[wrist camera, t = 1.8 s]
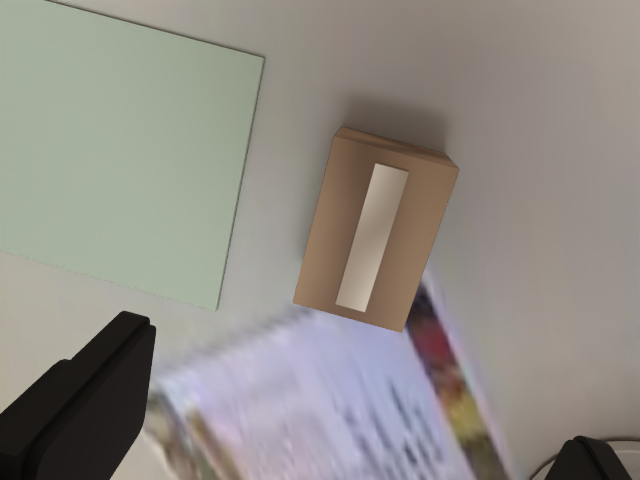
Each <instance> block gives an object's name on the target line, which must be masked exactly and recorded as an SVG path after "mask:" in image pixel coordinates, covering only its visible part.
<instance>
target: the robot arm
mask: <svg viewBox="0 0 640 480" xmlns="http://www.w3.org/2000/svg"><path fill="white" fill-rule="evenodd" d="M155 336H156V327H155V326H153V325H150V320H149V318H148V317H146V316H142V315H138V314H135V313H131V312H127V311H122V312H120V313H119V314H118V315H117V316H116V317H115V318H114V319H113V320H112V321H111V322H110V323H109V324H108V325H107V326H106V327H104V328H103V329H102V330H101V331H100V332H99V333H98V334H97V335H96V336H95V337H94V338H93V339H92V340H91V341H90V342H89V343H88V344H87V345H86V346H85V347H84V348H82V349H81V350H80V351H79V352H78V353H77V354H76V355H75V356H74V357H73V358H72V359H71V360H67V359H63V360H60V361H58V362H57V363H56V364H54V365H53V366H52V367H51V368H50V369H49V370H48V371H47V372H45V373H44V374H43V375H42V376H41V377H40V378H39V379H38V380H37V381H36V382H35V383H34V384H32V385H31V386H30V387H29V388H28V389H27V390H26V391H25V392H24V393H23V394H22V395H20V396H19V397H18V398H17V399H16V400H15V401H14V402H13V403H12V404H11V405H10V406H8V407H7V408H6V409H5V410H4V411H3V412H2V413H1V414H0V480H110V478H111V477H112V475H113V474H114V472H115V470H116V469H117V467H118V466H119V464H120V463H121V461H122V460H123V458H124V457H125V455H126V453H127V452H128V450H129V449H130V447H131V446H132V444H133V443H134V441H135V440H136V438H137V436H138V435H139V433H140V431H141V428H142V426H143V422H144V418H145V411H146V403H147V396H148V389H149V381H150V374H151V366H152V359H153V351H154V344H155ZM532 480H640V442H635V441H610V442H603V441H599V440H595V439H592V438H588V437H584V436H577V437H575V438H574V439H573V440H568V441H566V442H565V444H564V445H563V447H562V449H561V450H560V452H559V454H558V456H557V458H556V459H555V460H553V461H552V462H551V463H549V464H548V465H546V466H545V467H544V468H542V469H541V470H540V472H539V473H538V474H537V475H536V476H535V477H534V478H533V479H532Z"/></svg>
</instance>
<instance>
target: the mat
mask: <svg viewBox="0 0 640 480" xmlns="http://www.w3.org/2000/svg"><path fill="white" fill-rule="evenodd" d="M264 62H265V58H262V57H258V56H255V55H251V54H247V53H243V52H239V51H236V50H232V49H228V48H224V47H220V46H217V45H213V44H209V43H205V42H201V41H198V40H194V39H190V38H186V37H182V36H179V35H175V34H171V33H167V32H163V31H160V30H156V29H152V28H148V27H144V26H141V25H137V24H133V23H129V22H125V21H122V20H118V19H114V18H110V17H106V16H103V15H99V14H95V13H91V12H87V11H84V10H80V9H76V8H72V7H68V6H65V5H61V4H57V3H53V2H49V1H46V0H0V251H3V252H6V253H10V254H13V255H17V256H20V257H24V258H27V259H31V260H34V261H38V262H42V263H45V264H49V265H52V266H56V267H59V268H63V269H66V270H70V271H73V272H77V273H81V274H84V275H88V276H91V277H95V278H98V279H102V280H105V281H109V282H113V283H116V284H120V285H123V286H127V287H130V288H134V289H137V290H141V291H144V292H148V293H152V294H155V295H159V296H162V297H166V298H169V299H173V300H176V301H180V302H183V303H187V304H191V305H194V306H198V307H201V308H205V309H208V310H212V311H215V312H216V310H217V309H218V305H219V299H220V294H221V289H222V283H223V278H224V273H225V268H226V262H227V257H228V252H229V247H230V241H231V236H232V231H233V225H234V220H235V215H236V210H237V204H238V199H239V194H240V189H241V183H242V178H243V173H244V167H245V162H246V157H247V152H248V146H249V141H250V136H251V130H252V125H253V120H254V115H255V109H256V104H257V99H258V94H259V88H260V83H261V78H262V72H263V67H264Z"/></svg>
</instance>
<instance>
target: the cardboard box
mask: <svg viewBox="0 0 640 480" xmlns="http://www.w3.org/2000/svg"><path fill="white" fill-rule="evenodd" d="M458 172H459V168H458V167H457V166H456V165H455V164H454V163H453V162H452V160H451V159H450V158H449V157H448V156H447V155H446V154H445V153H441V152H437V151H433V150H430V149H426V148H422V147H418V146H414V145H411V144H407V143H403V142H399V141H395V140H392V139H388V138H384V137H380V136H376V135H373V134H369V133H365V132H361V131H358V130H354V129H350V128H346V127H341V128H340V129H339V130H338V132H337V133H336V134H335V136H334V139H333V143H332V147H331V151H330V155H329V159H328V163H327V167H326V171H325V175H324V179H323V183H322V187H321V191H320V195H319V199H318V203H317V207H316V211H315V215H314V219H313V223H312V227H311V231H310V235H309V239H308V243H307V247H306V251H305V255H304V259H303V263H302V267H301V271H300V275H299V279H298V283H297V287H296V291H295V295H294V299H293V303H295V304H299V305H302V306H306V307H310V308H313V309H317V310H320V311H324V312H328V313H331V314H335V315H339V316H342V317H346V318H349V319H353V320H357V321H360V322H364V323H368V324H371V325H375V326H378V327H382V328H386V329H389V330H393V331H396V332H400V333H402V331H403V328H404V325H405V322H406V319H407V317H408V314H409V311H410V308H411V305H412V302H413V300H414V297H415V294H416V291H417V288H418V285H419V283H420V280H421V277H422V274H423V271H424V268H425V266H426V263H427V260H428V257H429V254H430V251H431V249H432V246H433V243H434V240H435V237H436V234H437V232H438V229H439V226H440V223H441V220H442V217H443V215H444V212H445V209H446V206H447V203H448V200H449V198H450V195H451V192H452V189H453V186H454V183H455V181H456V178H457V175H458Z"/></svg>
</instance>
